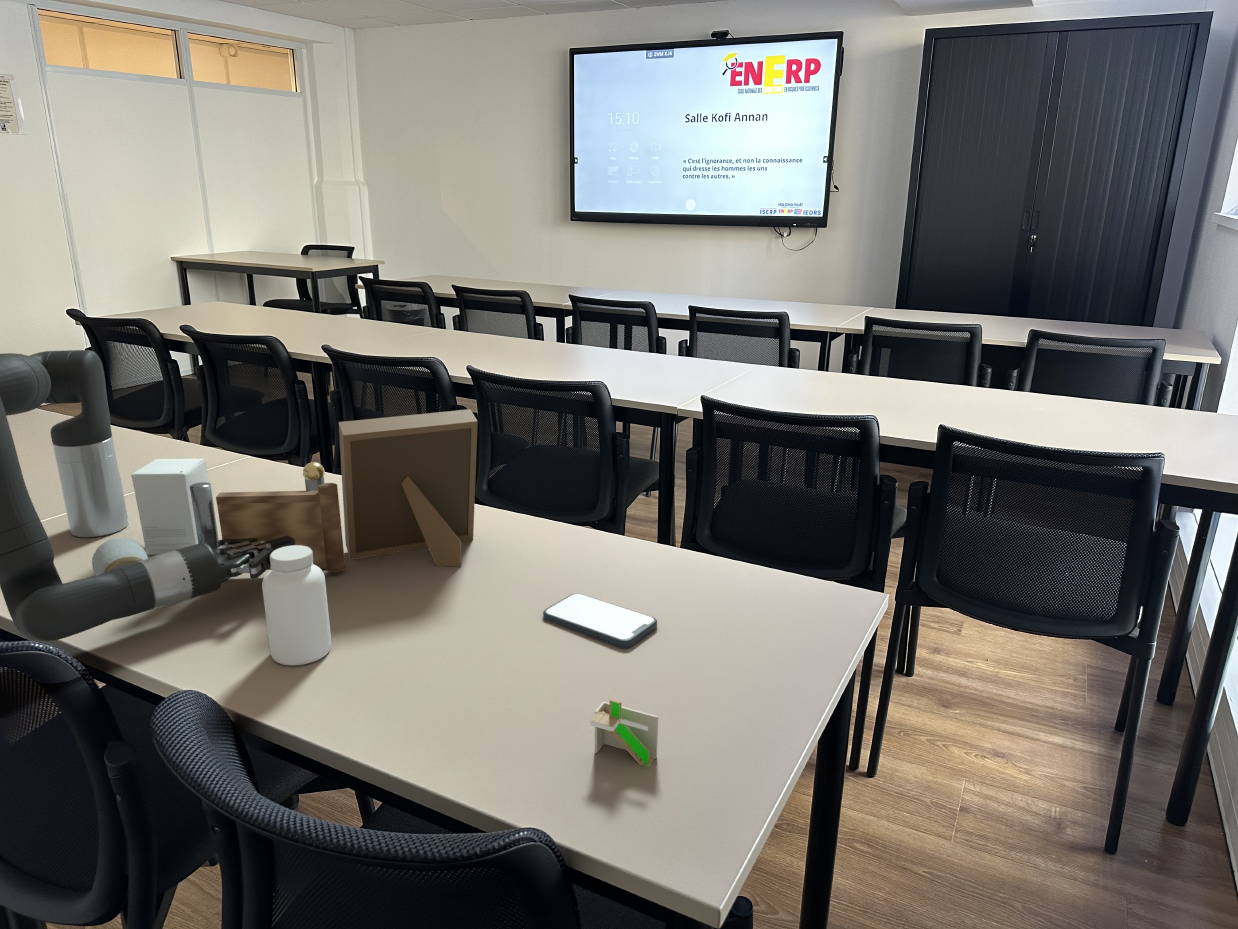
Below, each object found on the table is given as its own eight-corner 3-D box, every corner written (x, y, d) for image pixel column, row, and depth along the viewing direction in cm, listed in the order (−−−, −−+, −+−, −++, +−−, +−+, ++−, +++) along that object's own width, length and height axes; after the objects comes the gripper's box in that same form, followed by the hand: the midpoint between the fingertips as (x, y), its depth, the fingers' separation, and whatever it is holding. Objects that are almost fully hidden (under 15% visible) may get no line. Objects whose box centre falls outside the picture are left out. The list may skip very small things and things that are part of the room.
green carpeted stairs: (643, 781, 94) (645, 719, 91) (587, 764, 96) (587, 703, 94) (656, 760, 97) (658, 700, 95) (602, 744, 100) (603, 685, 97)
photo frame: (346, 550, 150) (333, 413, 142) (466, 531, 159) (461, 401, 151) (360, 585, 137) (347, 437, 129) (490, 562, 146) (486, 423, 138)
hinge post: (203, 571, 141) (189, 480, 136) (235, 570, 142) (222, 479, 137) (191, 585, 137) (176, 491, 131) (225, 584, 137) (211, 490, 132)
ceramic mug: (105, 606, 130) (97, 560, 127) (95, 587, 136) (87, 542, 133) (181, 588, 136) (174, 544, 134) (168, 570, 142) (162, 527, 140)
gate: (226, 575, 138) (213, 491, 133) (232, 567, 141) (220, 484, 136) (343, 572, 139) (334, 488, 135) (347, 564, 142) (339, 482, 138)
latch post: (311, 557, 147) (300, 458, 142) (342, 556, 148) (332, 457, 142) (303, 570, 142) (292, 467, 137) (335, 568, 143) (325, 467, 137)
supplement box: (219, 535, 156) (207, 457, 151) (197, 555, 147) (184, 473, 143) (168, 535, 156) (155, 457, 151) (144, 555, 147) (129, 473, 142)
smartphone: (539, 621, 128) (626, 653, 119) (538, 612, 127) (626, 643, 118) (575, 600, 135) (660, 628, 126) (575, 590, 134) (660, 618, 125)
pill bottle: (344, 643, 120) (334, 545, 115) (307, 672, 113) (294, 569, 108) (297, 633, 122) (285, 537, 118) (258, 661, 115) (243, 560, 111)
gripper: (193, 566, 118) (310, 532, 130) (158, 539, 127) (271, 509, 139) (200, 614, 121) (315, 576, 133) (166, 584, 129) (276, 551, 141)
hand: (292, 542), depth 136 cm, fingers closed
